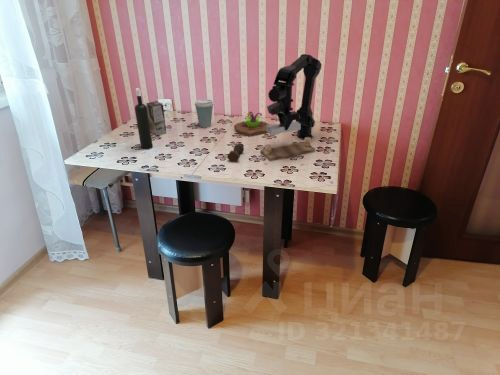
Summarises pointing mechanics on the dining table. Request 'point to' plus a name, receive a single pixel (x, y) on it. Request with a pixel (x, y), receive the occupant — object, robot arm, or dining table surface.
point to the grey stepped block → (282, 128)
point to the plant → (251, 126)
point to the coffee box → (156, 118)
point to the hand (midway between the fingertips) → (284, 128)
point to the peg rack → (287, 150)
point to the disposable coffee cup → (204, 112)
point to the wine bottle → (143, 123)
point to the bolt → (235, 153)
